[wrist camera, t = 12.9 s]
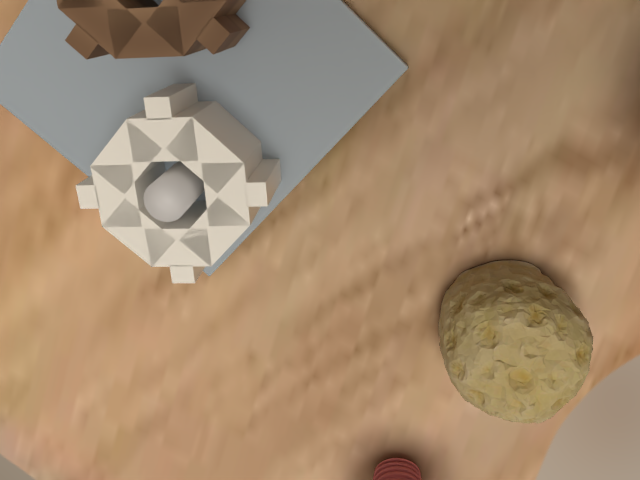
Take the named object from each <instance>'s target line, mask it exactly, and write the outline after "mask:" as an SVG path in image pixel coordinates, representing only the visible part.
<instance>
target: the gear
mask: <svg viewBox="0 0 640 480" xmlns="http://www.w3.org/2000/svg"><path fill="white" fill-rule="evenodd" d="M144 105H145V110H143V111H141V112H139V113H137V114H135V115H133V116H131V117H129V118H127V119H126V120H125V122H124V123H123V124H122V125H121V127H120V128H119V129H118V131H117V132H116V133H115V135H114V136H113V137H112V138H111V140H110V141H109V142H108V144H107V145H106V146H105V148H104V149H103V150H102V151H101V153H100V154H99V155H98V157H97V158H96V159H95V161H94V162H93V163H92V164H91V165H90V167H91V172H92V175H91V176H90V177H88V178H87V179H85V180H83V181H82V182H80V183H79V184H77V185H76V190H77V195H78V199H79V204H80V209H97V208H99V213H100V218H101V223H102V227H103V228H105V229H106V230H107V231H108V232H109V233H111V234H112V235H113V236H114V237H116V238H117V239H118V240H119V241H121V242H122V243H123V244H124V245H126V246H127V247H128V248H129V249H130V250H132V251H133V252H134V253H135V254H137V255H138V256H139V257H140V258H142V259H143V260H144V261H145V262H147V263H148V264H149V265H150V266H151V267H168V266H170V271H171V278H172V283H195V282H196V281H197V279H198V278H199V276H200V274H201V273H202V271H203V270H204V268H205V267H206V266H212V265H213V264H214V263H215V262H216V261H217V260H218V259H219V258H220V257H221V256H222V255H223V253H224V252H225V251H226V250H227V249H228V248H229V247H230V246H231V245H232V244H233V243H234V242H235V241H236V240H237V239H238V238H239V237H240V236H241V234H242V233H243V232H244V231H245V230H246V229H247V228H248V227H249V226H250V225H251V223H252V222H253V220H254V218H255V216H256V214H257V213H258V211H259V209H260V207H261V206H268V205H269V203H270V201H271V199H272V197H273V195H274V193H275V191H276V190H277V188H278V186H279V184H280V182H281V168H280V159H263V158H262V147H261V141H260V140H259V139H258V138H257V137H255V136H254V135H253V134H252V133H251V132H250V131H249V130H248V129H247V128H245V127H244V126H243V125H242V124H241V123H240V122H239V121H238V120H237V119H235V118H234V117H233V116H232V115H231V114H230V113H229V112H228V111H227V110H226V109H224V108H223V107H222V106H221V105H220V104H219V103H218V102H217V101H198V97H197V89H196V83H184V84H172V85H170V86H168V87H165V88H163V89H161V90H159V91H157V92H155V93H152V94H150V95H148V96H146V97H144ZM164 161H181V162H182V163H183V164H184V165H185V166H186V167H188V168H189V169H190V170H191V171H192V172H193V173H195V174H196V175H197V176H198V177H199V178H200V179H201V180H203V181H204V189H205V197H206V201H195V202H194V203H193V204H192V205H191V206H190V207H189V208H188V210H187V211H186V212H185V213H184V214H183V215H182V216H181V217H180V218H179V219H178V220H176V221H172V222H163V221H160V220H157V219H155V218H154V217H153V216H151V215H150V213H149V212H148V211H147V209H146V207H145V205H144V193H145V190H146V189H147V187H148V186H149V185H150V184H151V183H153V182H154V181H155V180H156V179H157V178H159V177H160V176H161V175H162V174H163V173H164V172H166V170H165V163H164Z"/></svg>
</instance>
